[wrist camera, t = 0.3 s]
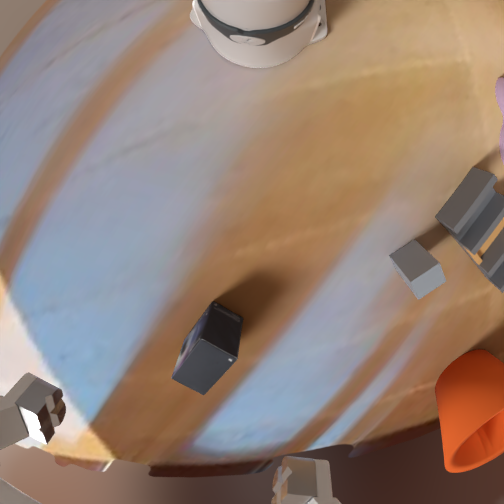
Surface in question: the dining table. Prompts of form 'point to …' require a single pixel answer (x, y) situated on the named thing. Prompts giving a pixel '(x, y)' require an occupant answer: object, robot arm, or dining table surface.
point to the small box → (209, 349)
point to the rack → (478, 223)
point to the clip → (503, 99)
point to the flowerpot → (471, 410)
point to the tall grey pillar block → (418, 268)
